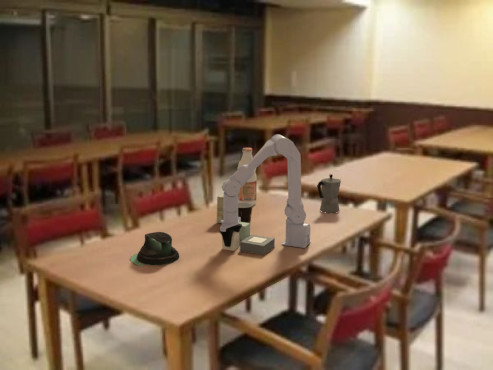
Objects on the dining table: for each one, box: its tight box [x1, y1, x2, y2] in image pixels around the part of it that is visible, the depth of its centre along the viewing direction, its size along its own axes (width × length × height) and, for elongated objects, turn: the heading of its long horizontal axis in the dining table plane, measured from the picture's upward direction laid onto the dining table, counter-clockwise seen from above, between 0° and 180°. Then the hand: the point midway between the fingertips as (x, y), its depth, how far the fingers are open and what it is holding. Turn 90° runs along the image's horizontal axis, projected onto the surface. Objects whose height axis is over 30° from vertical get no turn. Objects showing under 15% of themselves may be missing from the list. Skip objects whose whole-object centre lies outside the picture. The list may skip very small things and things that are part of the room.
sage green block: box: [239, 222, 251, 241], centre depth 240 cm, size 5×5×6 cm
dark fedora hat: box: [130, 231, 180, 268], centre depth 216 cm, size 20×20×9 cm
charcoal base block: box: [239, 234, 275, 256], centre depth 227 cm, size 10×10×4 cm
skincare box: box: [216, 194, 224, 224], centre depth 260 cm, size 6×4×12 cm
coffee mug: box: [238, 203, 254, 224], centre depth 252 cm, size 12×9×10 cm
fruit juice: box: [237, 147, 258, 206], centre depth 290 cm, size 9×9×28 cm
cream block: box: [221, 232, 240, 252], centre depth 228 cm, size 5×5×6 cm
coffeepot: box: [316, 174, 342, 214], centre depth 278 cm, size 15×9×18 cm, turn 129°
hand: (230, 244), depth 228 cm, fingers closed on cream block, 5 cm apart
